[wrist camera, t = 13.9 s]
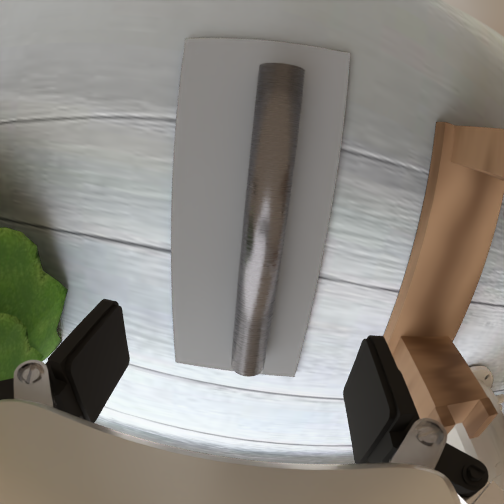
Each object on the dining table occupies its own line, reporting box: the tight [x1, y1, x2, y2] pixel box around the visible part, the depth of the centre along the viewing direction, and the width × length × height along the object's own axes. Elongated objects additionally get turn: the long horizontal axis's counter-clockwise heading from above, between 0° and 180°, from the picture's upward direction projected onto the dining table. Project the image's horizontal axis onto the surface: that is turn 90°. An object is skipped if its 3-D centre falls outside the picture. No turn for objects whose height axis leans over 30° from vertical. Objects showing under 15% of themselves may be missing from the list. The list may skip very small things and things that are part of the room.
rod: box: [231, 63, 305, 376], centre depth 22 cm, size 24×3×3 cm
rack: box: [383, 122, 504, 439], centre depth 17 cm, size 8×22×12 cm, turn 174°
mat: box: [171, 38, 350, 377], centre depth 23 cm, size 12×29×1 cm, turn 174°
